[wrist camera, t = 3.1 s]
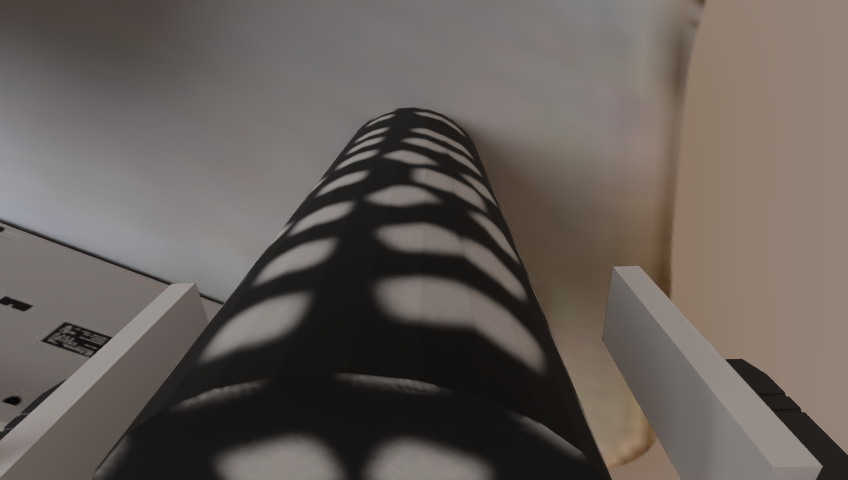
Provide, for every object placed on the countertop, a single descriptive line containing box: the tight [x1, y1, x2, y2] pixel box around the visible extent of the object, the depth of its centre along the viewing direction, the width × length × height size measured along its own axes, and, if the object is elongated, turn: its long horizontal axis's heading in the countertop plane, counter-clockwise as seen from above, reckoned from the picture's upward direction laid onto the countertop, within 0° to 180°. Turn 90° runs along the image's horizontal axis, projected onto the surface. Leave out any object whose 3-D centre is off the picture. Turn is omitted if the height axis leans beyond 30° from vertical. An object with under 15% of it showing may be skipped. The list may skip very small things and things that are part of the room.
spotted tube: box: [92, 108, 612, 480], centre depth 16 cm, size 8×8×20 cm
